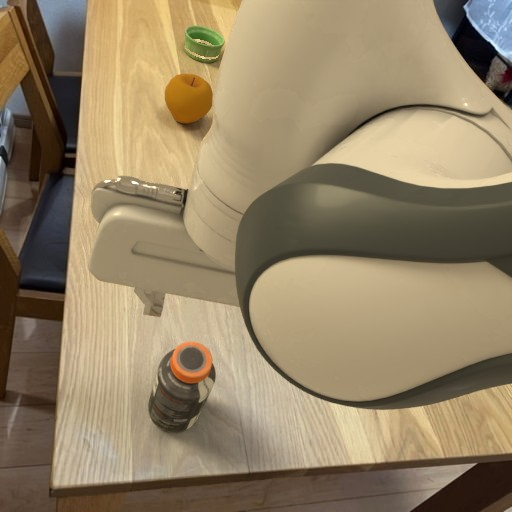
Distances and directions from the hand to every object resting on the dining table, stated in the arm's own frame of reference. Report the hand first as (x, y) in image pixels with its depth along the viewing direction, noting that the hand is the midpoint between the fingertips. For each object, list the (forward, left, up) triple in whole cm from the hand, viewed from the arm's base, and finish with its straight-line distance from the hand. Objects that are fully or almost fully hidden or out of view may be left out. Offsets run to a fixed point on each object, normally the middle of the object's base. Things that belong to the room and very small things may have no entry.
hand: (206, 319), depth 43 cm
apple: (+57, +5, -18) cm, 60 cm away
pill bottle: (0, 0, -18) cm, 18 cm away
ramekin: (+85, +4, -18) cm, 87 cm away
